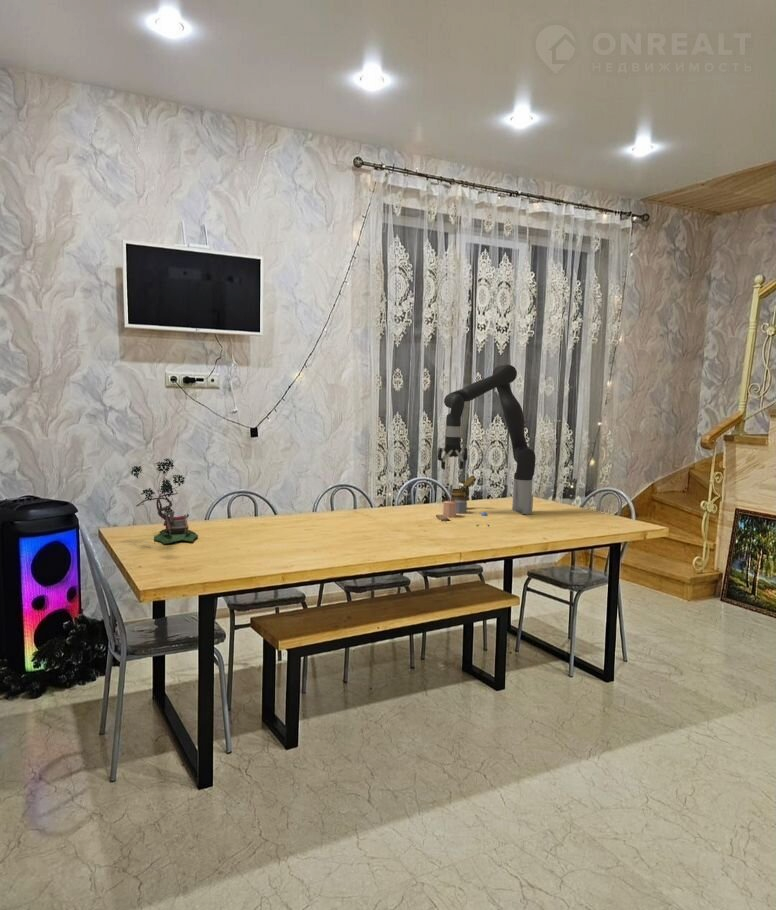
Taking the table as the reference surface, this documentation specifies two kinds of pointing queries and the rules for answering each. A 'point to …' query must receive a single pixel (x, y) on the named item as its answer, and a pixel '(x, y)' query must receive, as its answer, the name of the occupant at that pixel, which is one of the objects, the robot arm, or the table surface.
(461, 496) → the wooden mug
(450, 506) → the terracotta cup
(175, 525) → the bonsai tree
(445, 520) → the walnut coaster
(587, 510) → the table surface
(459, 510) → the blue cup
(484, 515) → the blue marble
